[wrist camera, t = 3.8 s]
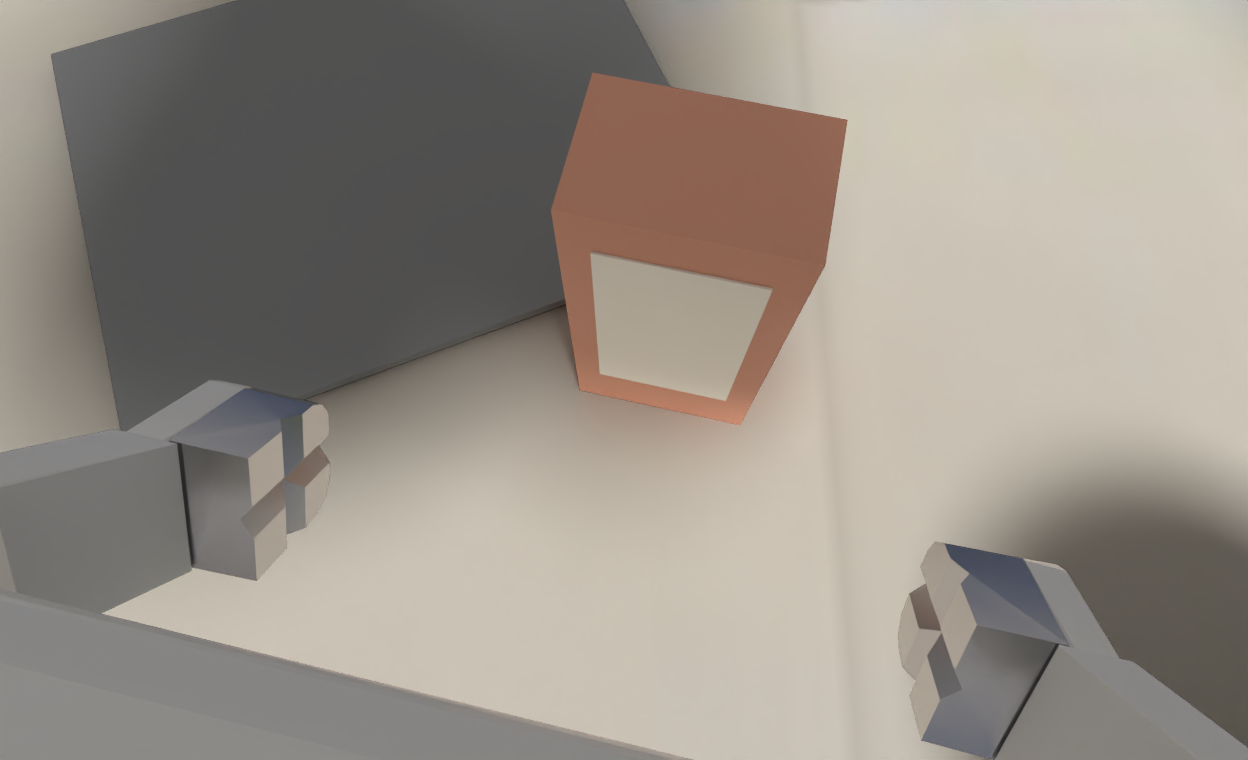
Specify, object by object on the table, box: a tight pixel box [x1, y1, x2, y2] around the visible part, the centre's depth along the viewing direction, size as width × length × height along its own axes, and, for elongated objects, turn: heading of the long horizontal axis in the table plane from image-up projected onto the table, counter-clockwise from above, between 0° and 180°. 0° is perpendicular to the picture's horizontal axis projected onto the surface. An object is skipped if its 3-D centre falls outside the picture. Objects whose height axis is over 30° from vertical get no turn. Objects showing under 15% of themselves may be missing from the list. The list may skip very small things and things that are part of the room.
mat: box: [51, 0, 669, 432], centre depth 26 cm, size 20×16×1 cm
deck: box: [551, 73, 847, 425], centre depth 19 cm, size 3×5×10 cm, turn 77°
